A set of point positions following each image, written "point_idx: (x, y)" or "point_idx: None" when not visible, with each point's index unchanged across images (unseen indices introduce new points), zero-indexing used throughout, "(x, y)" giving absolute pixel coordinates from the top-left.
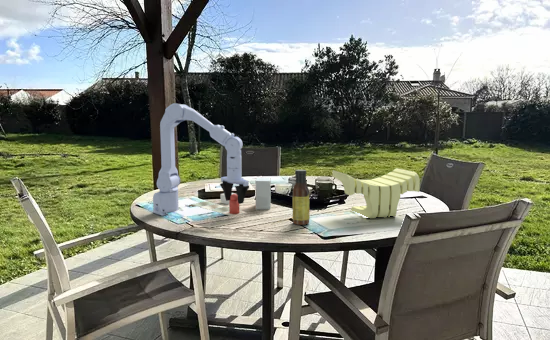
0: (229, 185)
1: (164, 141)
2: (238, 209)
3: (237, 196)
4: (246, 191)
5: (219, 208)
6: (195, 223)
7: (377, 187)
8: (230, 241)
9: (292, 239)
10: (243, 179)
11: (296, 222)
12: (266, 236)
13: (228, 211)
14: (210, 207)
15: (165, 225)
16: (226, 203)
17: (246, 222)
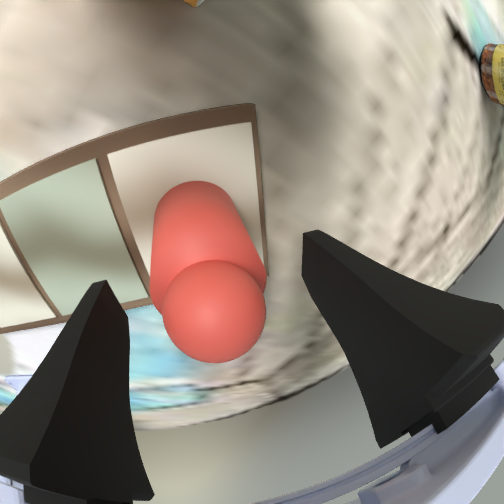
0: (97, 462)
1: None
2: (240, 217)
3: (260, 307)
4: (434, 295)
5: (36, 263)
6: (229, 376)
7: None
8: None
9: (500, 208)
10: (480, 482)
11: (499, 103)
12: (465, 245)
13: (137, 242)
14: (8, 296)
15: (200, 415)
16: None
17: (367, 224)
